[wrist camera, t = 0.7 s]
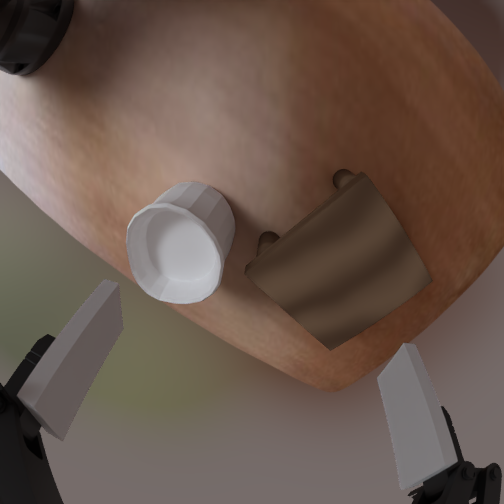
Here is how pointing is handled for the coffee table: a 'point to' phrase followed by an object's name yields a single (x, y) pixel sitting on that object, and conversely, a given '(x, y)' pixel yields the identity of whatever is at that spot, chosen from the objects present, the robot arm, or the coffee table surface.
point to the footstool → (340, 263)
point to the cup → (181, 243)
